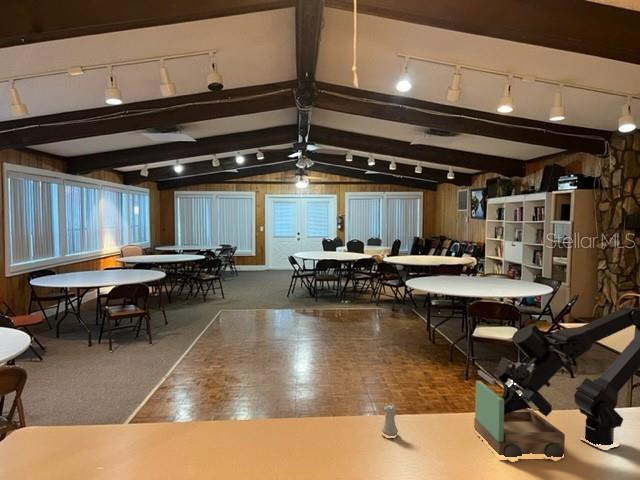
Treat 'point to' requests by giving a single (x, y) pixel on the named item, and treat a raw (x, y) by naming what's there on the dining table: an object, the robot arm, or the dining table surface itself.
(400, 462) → the dining table surface
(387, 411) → the rook chess piece
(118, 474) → the dining table surface
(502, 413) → the panel
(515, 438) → the cart
